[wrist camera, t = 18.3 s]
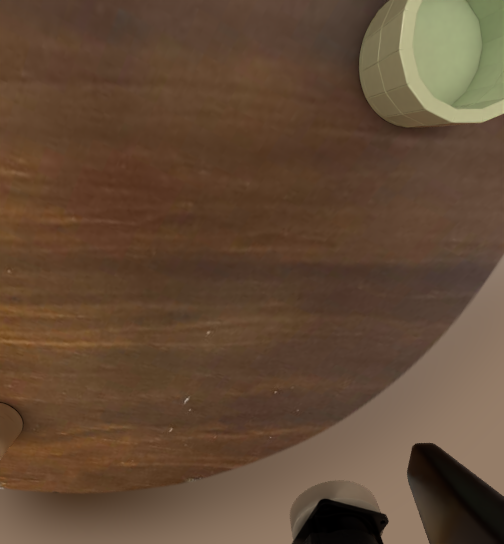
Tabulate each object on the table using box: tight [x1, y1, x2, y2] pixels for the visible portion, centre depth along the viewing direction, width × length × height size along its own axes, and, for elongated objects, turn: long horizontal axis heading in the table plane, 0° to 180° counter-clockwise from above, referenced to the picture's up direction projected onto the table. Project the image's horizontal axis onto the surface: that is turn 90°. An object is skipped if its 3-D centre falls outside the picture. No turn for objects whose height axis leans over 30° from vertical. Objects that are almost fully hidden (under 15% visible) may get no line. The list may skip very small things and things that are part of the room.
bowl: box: [359, 0, 504, 128], centre depth 14 cm, size 6×6×4 cm
